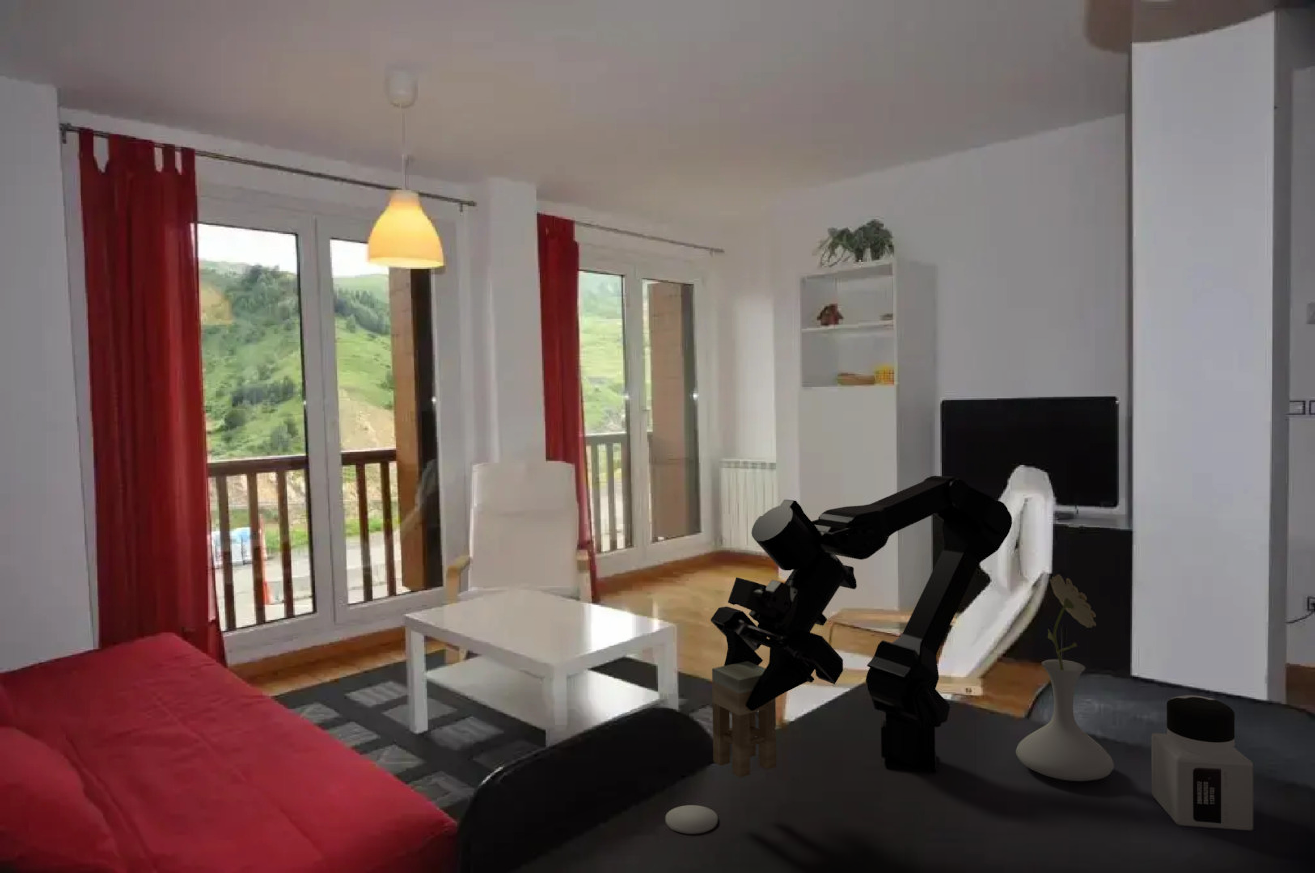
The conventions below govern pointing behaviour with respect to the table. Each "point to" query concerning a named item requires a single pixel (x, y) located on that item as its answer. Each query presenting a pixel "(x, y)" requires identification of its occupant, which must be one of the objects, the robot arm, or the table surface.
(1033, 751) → the flower in vase
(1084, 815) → the table surface
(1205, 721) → the container
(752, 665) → the stool
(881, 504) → the robot arm
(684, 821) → the mat
